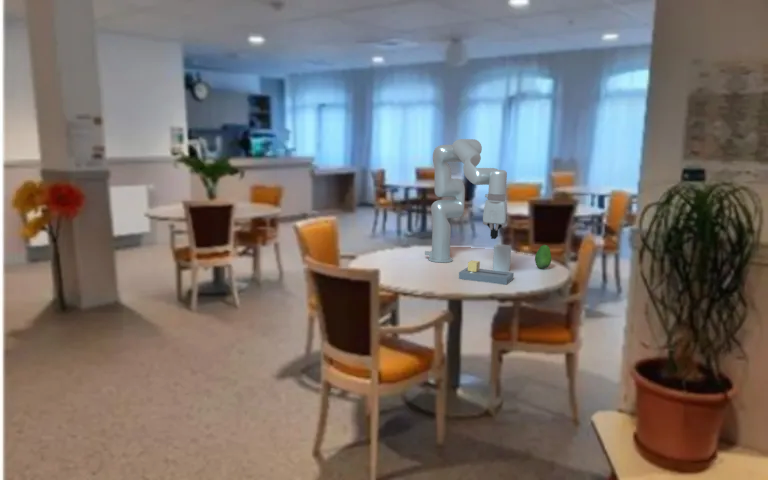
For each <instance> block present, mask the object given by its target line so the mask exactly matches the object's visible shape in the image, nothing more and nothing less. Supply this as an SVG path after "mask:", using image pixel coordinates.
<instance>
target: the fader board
mask: <svg viewBox="0 0 768 480" xmlns="http://www.w3.org/2000/svg"><path fill="white" fill-rule="evenodd" d="M458 279H459V280H464V281H465V280H466V281H474V282H481V283H488V284H489V283H491V284H498V285H505V286H507V285H508V284H509V283H510V282H512V281H513V280H514V272H510V271H508V272H503V271H494V270H493V269H486V268H485V269H483V268H480V270H478V271H477V272H473V271H468V266H467V267H466V268H464V269H462V270H461V271H459V272H458Z"/></svg>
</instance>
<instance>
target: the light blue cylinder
mask: <svg viewBox="0 0 768 480" xmlns="http://www.w3.org/2000/svg"><path fill="white" fill-rule="evenodd" d="M511 254H512V245H509V244H501V243H500V244H498V243H497V244H494V245H493V257H492V259H493V260H492V270H494V271H503V272H510V271H511Z"/></svg>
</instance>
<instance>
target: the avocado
mask: <svg viewBox="0 0 768 480" xmlns="http://www.w3.org/2000/svg"><path fill="white" fill-rule="evenodd" d="M551 253H552V252H551V249H550V247H549V245H546V244H543V245H541V246H539V248H538V249H537V252H536V253H535V256H534V262H535V265H536V267H537V268H538V269H541V270H545V269H547V268H549V267H550V264H551V262H552V254H551Z"/></svg>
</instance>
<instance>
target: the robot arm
mask: <svg viewBox="0 0 768 480" xmlns="http://www.w3.org/2000/svg"><path fill="white" fill-rule="evenodd" d="M482 148H483V147H482V144H481V142H480V141H479V140H477V139H473V138H459V139H457V140H455V141H453V143H452V144H442V145H441V144H440V145H437V146H436V147H435V148H434V150H433V153H432V163H433V168H434V184H433V185H434V195H435V196H436V197H438V198H451V199H438V200H436V201H435V200H434V202H433V203H432V204H431V206H430V207H431V208H430V211H431V212H430V213H431V218H432V219H431V220H432V226H431V227H432V228H431V230H432V233H431V235H432V236H431V250H425V251H424V255H425V256H428V261H429V262H433V263H450V262H453V257H451V235H452V233H451V232H452V231H451V230H452V226H451V224H450V222H449V220H448V219H457V218H460V217H463V215H464V213H465V194H466V189H465V188H466V187H465V184H464V182H463V181H462V179H459V178H452V169H451V166H450V165H449V163H463V167H462V169H463V175H464V177H465V178H466V179H467V180H468V181H469V183H472V184H473V185H476V186H481V185H482V186H485V185H486V186H487V185H488V193H486V194H485V195H484V198H486V200H485V201H484V202H485V203H484V208H483V214H482V221H483V222H482V225H484V226H487V227H488V228H489V230H490V239H492V240H496V239H497V238H498V237H499V230H500V229H501V228H505V227H507V226H508V224H507V223H508V203H507V201H506V192H507V181H508V180H507V179H508V178H507V177H508V172H507V171H506V170H504V169H498V168H494V167H477V166H478V165H479V164H480V162H481V159H482V157H481V153H482ZM448 162H449V163H448Z"/></svg>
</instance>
